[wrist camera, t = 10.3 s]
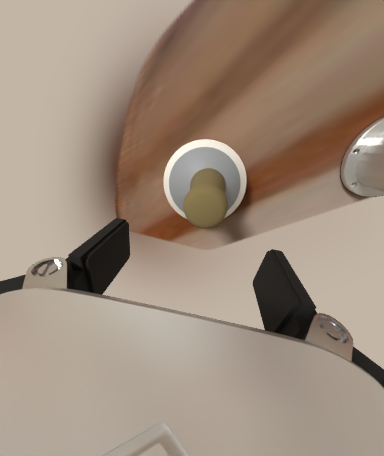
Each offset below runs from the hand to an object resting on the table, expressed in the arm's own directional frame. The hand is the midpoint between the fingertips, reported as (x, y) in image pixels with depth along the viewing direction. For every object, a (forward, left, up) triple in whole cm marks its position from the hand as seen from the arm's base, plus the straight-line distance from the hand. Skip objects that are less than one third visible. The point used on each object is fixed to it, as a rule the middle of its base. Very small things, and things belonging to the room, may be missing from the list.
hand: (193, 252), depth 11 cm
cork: (0, 0, -19) cm, 19 cm away
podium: (0, 0, -23) cm, 23 cm away
